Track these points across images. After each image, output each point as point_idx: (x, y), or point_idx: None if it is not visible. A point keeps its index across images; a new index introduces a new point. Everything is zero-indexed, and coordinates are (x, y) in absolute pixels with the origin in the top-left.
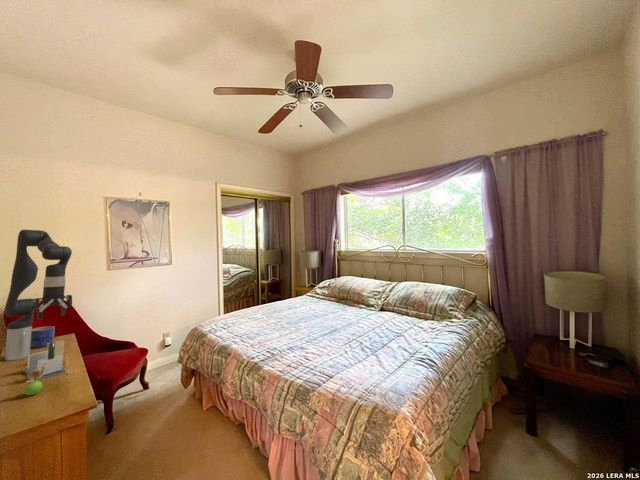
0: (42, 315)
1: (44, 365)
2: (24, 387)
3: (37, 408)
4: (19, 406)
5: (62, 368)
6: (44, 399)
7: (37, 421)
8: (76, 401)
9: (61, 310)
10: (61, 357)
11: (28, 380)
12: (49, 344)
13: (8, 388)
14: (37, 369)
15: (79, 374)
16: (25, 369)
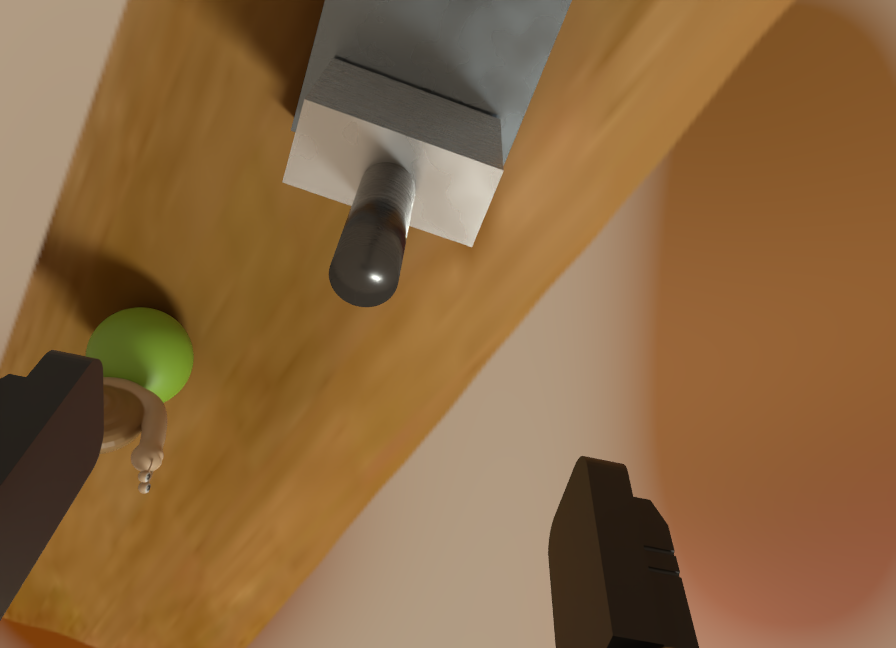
0: (43, 538)
1: (145, 467)
2: (88, 348)
3: (84, 511)
4: None
5: (510, 144)
6: None
7: (30, 605)
8: (204, 612)
9: (599, 572)
10: (460, 236)
11: None
12: (330, 272)
13: (136, 33)
14: (102, 449)
15: (482, 340)
16: None
